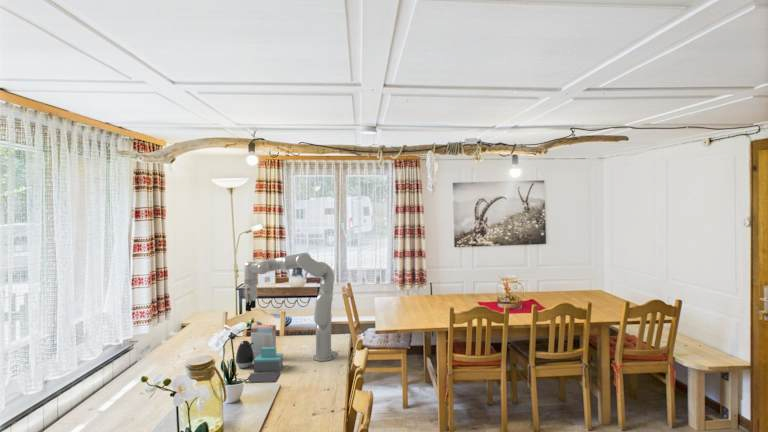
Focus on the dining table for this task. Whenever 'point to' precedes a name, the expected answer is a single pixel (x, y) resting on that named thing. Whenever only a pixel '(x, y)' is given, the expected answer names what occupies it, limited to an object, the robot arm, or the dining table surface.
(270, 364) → the tub
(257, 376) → the mat
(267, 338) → the cracker box
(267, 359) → the lid
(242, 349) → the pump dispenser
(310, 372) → the dining table surface
